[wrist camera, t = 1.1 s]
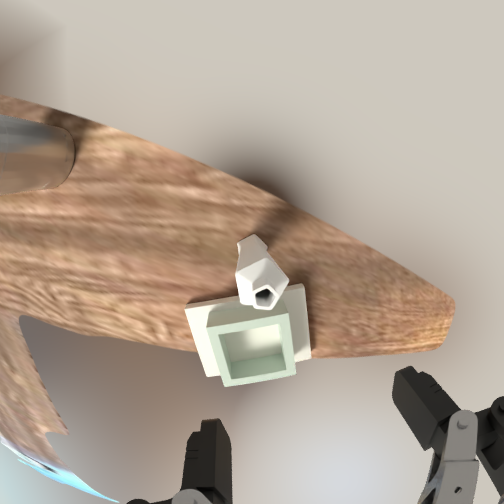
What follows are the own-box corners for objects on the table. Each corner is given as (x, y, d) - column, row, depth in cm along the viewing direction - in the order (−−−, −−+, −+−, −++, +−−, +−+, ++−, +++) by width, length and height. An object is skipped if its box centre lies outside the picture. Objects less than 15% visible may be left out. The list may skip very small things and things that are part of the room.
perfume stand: (207, 370, 39) (205, 394, 34) (186, 304, 36) (179, 323, 31) (308, 352, 40) (318, 374, 34) (301, 283, 36) (312, 299, 31)
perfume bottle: (243, 225, 34) (250, 258, 19) (274, 240, 35) (302, 283, 20) (226, 257, 35) (222, 310, 20) (257, 271, 36) (273, 331, 21)
